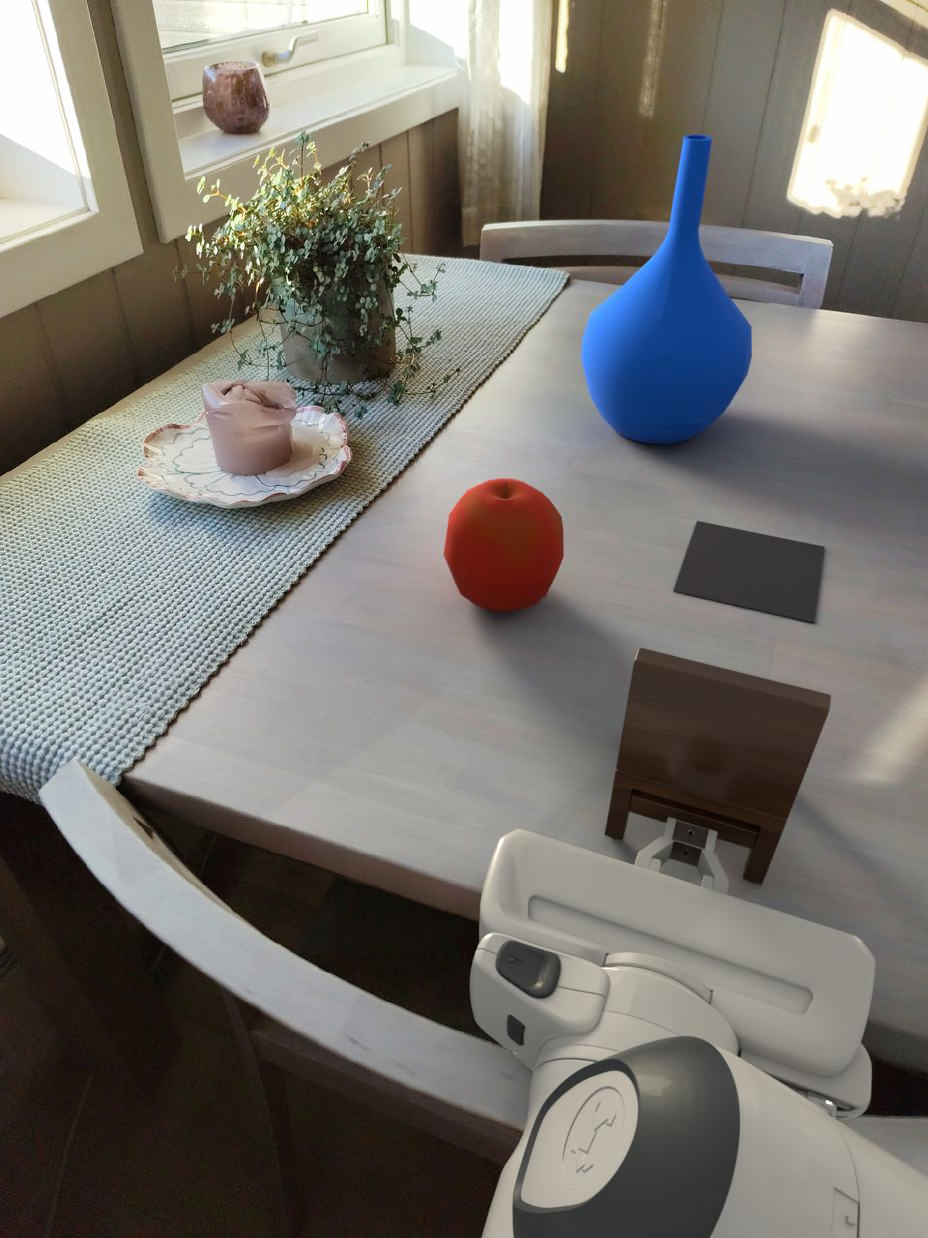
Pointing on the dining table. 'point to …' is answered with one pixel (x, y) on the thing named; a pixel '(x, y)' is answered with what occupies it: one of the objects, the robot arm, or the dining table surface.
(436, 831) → the dining table surface
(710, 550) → the pad
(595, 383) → the vase
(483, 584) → the apple
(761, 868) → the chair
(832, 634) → the dining table surface
